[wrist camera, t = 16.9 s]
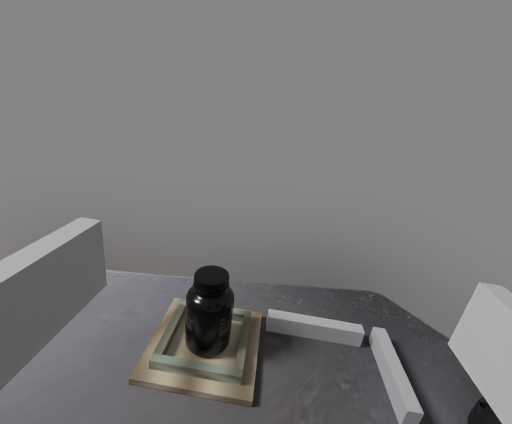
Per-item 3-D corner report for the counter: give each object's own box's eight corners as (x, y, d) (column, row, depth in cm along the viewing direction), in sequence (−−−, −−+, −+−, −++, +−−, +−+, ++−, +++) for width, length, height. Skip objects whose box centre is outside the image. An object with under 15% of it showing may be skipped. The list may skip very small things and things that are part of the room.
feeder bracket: (379, 342, 48) (385, 328, 47) (415, 429, 35) (424, 413, 34) (266, 322, 49) (268, 308, 48) (260, 400, 36) (263, 384, 35)
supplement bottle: (221, 319, 47) (228, 258, 42) (235, 352, 41) (245, 285, 37) (180, 329, 44) (182, 264, 39) (189, 365, 38) (193, 294, 34)
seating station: (261, 317, 50) (263, 306, 49) (251, 407, 35) (254, 393, 34) (174, 302, 50) (175, 291, 50) (129, 384, 36) (128, 370, 35)
